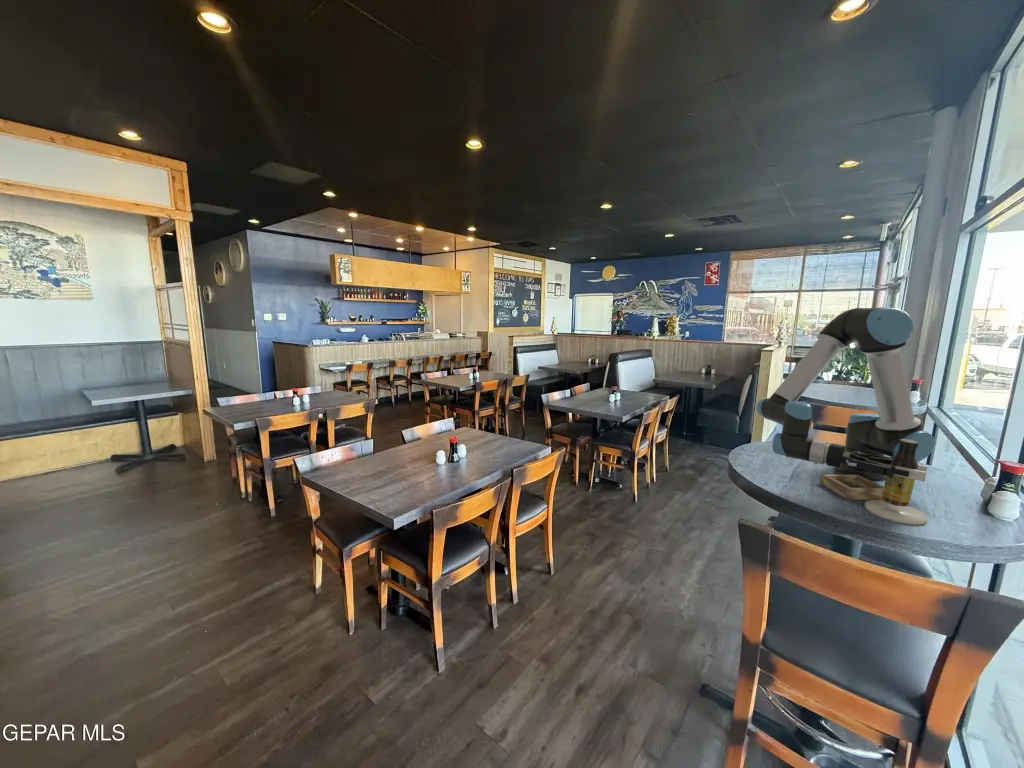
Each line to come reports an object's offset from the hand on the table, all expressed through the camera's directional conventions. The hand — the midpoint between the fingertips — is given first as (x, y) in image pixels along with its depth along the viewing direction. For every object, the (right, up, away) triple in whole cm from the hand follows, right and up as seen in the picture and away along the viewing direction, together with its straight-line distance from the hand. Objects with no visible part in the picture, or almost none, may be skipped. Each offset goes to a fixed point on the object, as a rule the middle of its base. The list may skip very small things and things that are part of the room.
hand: (925, 473), depth 120 cm
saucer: (-4, -13, +6) cm, 15 cm away
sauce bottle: (-4, -10, +6) cm, 12 cm away
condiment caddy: (-3, -11, +22) cm, 25 cm away
